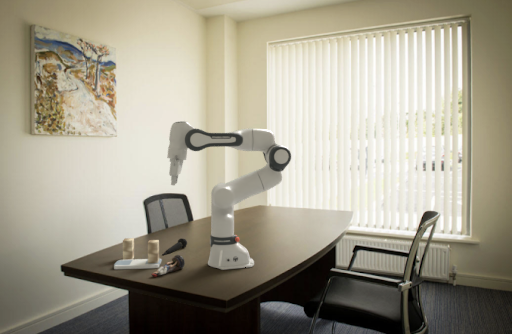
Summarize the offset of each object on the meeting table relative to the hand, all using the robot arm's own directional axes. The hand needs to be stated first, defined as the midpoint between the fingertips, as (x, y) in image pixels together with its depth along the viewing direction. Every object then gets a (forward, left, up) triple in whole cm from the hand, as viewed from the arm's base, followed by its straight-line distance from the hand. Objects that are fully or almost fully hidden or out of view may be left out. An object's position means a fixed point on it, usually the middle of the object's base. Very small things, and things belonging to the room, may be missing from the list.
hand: (174, 184), depth 178 cm
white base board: (+17, -1, -39) cm, 42 cm away
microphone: (+3, -26, -40) cm, 47 cm away
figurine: (+2, +10, -40) cm, 41 cm away
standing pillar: (+10, -1, -38) cm, 39 cm away
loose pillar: (+24, -12, -39) cm, 47 cm away
